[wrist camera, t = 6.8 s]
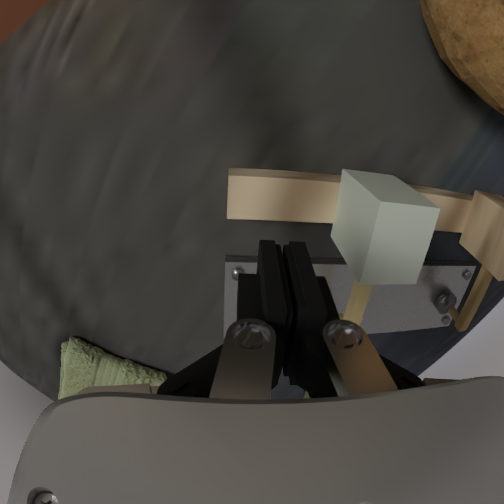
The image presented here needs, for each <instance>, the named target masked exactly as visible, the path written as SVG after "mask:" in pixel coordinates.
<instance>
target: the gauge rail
mask: <svg viewBox="0 0 504 504" xmlns="http://www.w3.org/2000/svg"><path fill="white" fill-rule="evenodd" d="M340 182H341V175H331V174H320V173H309V172H296V171H282V170H266V169H247V168H229V176H228V199H227V219H250V220H276V221H298V222H318V223H333V221H334V216H335V210H336V205H337V199H338V193H339V188H340ZM407 185H409V186H410V187H411V188H413V189H414V190H416V191H417V192H419V193H420V194H421V195H423V196H424V197H426V198H427V199H428V200H430V201H431V202H432V203H434V204H435V205H436V206H438V207H439V208H440V212H439V215H438V219H437V222H436V225H435V229H434V230H437V231H449V232H460V233H462V235H461V238H460V241H459V243H460V244H461V245H462V246H463V247H464V248H465V249H466V250H467V251H468V252H469V253H470V254H471V255H473V256H474V257H475V258H476V259H477V260H478V261H479V262H480V263H481V264H482V267H481V269H480V271H479V274H478V276H477V278H476V281H475V283H474V285H473V287H472V290H471V292H470V294H469V296H468V298H467V300H466V302H465V305H464V307H463V309H462V311H461V313H460V314H459V313H458V311H457V310H456V309H455V307H454V306H451V307H450V308H449V309H448V312H449V314H450V315H451V316H452V318H453V319H454V320H455V324H454V326H455V327H456V328H457V330H458V331H459V332H461V331H466V329H467V328H468V326H469V324H470V322H471V320H472V318H473V316H474V315H475V313H476V311H477V309H478V307H479V305H480V303H481V301H482V299H483V297H484V294H485V292H486V290H487V288H488V286H489V284H490V282H491V279H492V277H493V276H494V277H495V278H496V279H497V280H498V281H503V280H504V197H502V196H499V195H495V194H491V193H486V192H482V191H477V190H475V192H474V195H470V194H464V193H459V192H454V191H448V190H443V189H437V188H431V187H425V186H418V185H412V184H407Z"/></svg>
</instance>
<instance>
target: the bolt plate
mask: <svg viewBox="0 0 504 504" xmlns="http://www.w3.org/2000/svg"><path fill="white" fill-rule="evenodd" d="M310 259H311V262H312V265H313V268H314V271H315V274H316V276H324V277H325V278H326V280H327V283H328V286H329V289H330V291H331V294H332V297H333V300H334V303H335V306H336V308H337V311H338V313H342V314H343V316H344V314H345V311H346V308H347V304H348V301H349V298H350V294H351V291H352V287H353V284H354V280H355V277H354V275H353V273H352V272H351V270H350V268H349V267H348V265H347V263H346V261H345V260H344V258H310ZM257 262H258V256H230V255H225V288H224V338H225V335H226V332H227V330H228V328H229V326H230V325H231V324H232V323H234V322H236V319H237V289H238V273H248V274H256V272H257ZM475 268H476V265H475V264H474V263H473V262H472V261H442V260H424V262H423V265H422V268H421V271H420V273H419V276H418V279H417V281H416V284H388V285H373V287H372V290H371V293H370V296H369V299H368V302H367V305H366V308H365V311H364V314H363V317H362V320H361V322H360V325H359V326H360V327H362V329H363V330H364V331H365V332H366V334H373V333H386V332H397V331H408V330H417V329H427V328H435V327H443V326H449V324H450V322H451V320H452V316H451V315H450V314H449V312H448V309H449V308H450V307H451V306H454V307H455V309H456V310H457V308H458V306H459V304H460V302H461V300H462V298H463V295H464V293H465V291H466V289H467V287H468V284H469V282H470V280H471V277H472V275H473V273H474V270H475Z"/></svg>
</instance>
